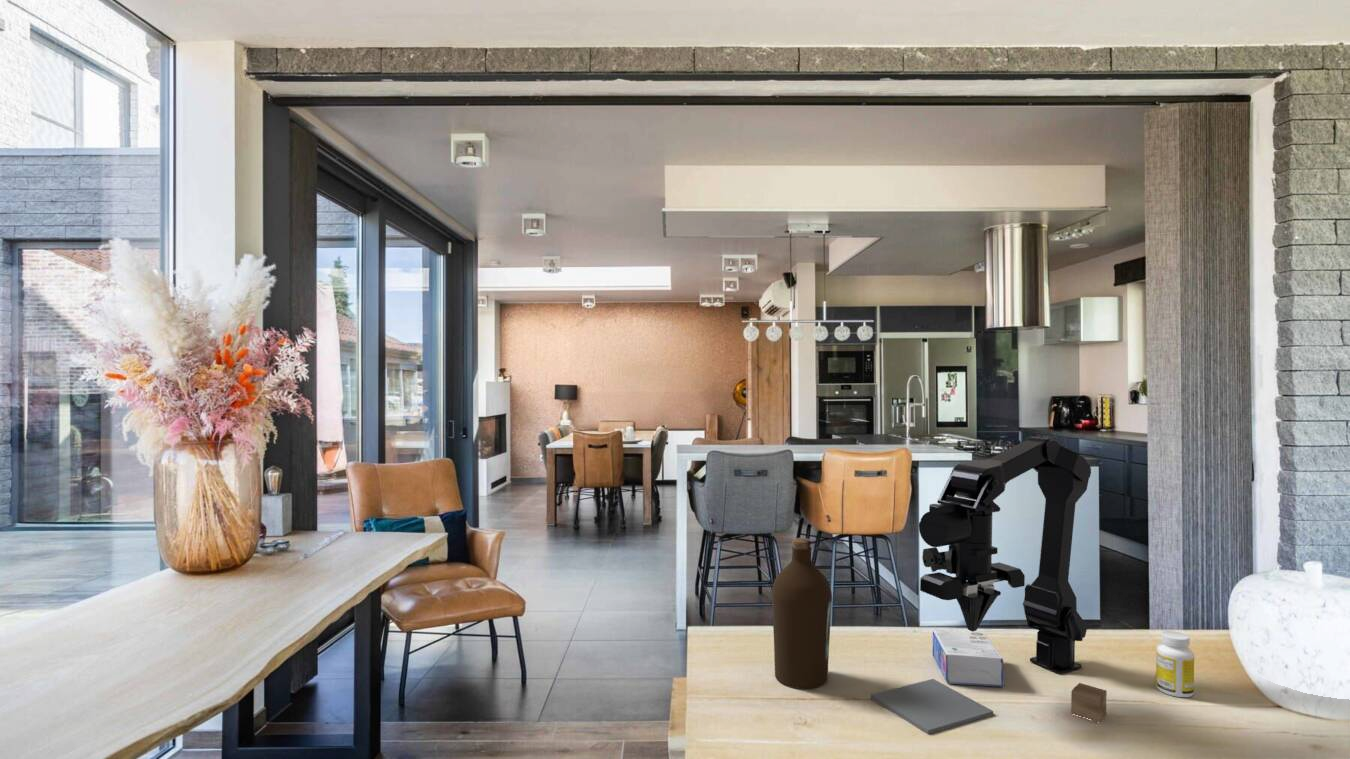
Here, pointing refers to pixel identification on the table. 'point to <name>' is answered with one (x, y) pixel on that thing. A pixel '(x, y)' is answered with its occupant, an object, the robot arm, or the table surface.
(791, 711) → the table surface
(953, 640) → the ink cartridge box
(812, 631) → the olive oil
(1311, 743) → the table surface
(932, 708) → the mat
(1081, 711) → the walnut block
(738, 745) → the table surface
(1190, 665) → the supplement bottle
